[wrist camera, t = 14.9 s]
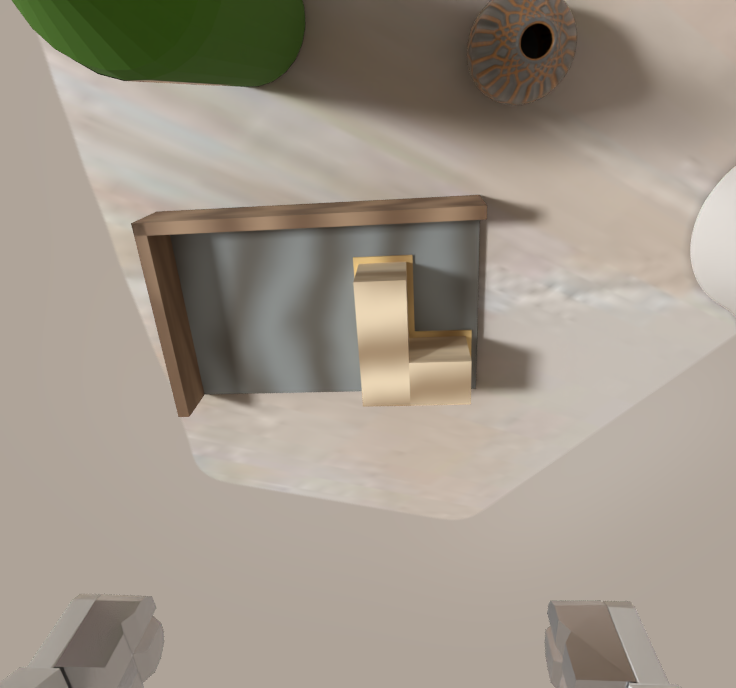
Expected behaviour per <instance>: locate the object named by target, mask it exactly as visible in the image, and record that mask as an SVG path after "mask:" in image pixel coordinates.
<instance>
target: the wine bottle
mask: <svg viewBox="0 0 736 688" xmlns="http://www.w3.org/2000/svg"><path fill="white" fill-rule="evenodd" d="M12 1H13V3H14V4H15V5H16V7H17V8H18V10H19V11H20V12H21V14H22V15H23V16H24V18H25V19H26V20H27V22H28V23H29V24H30V26H31V27H32V28H33V29H34V30H35V31H36V32H37V33H38V34H39V35H40V36H41V37H42V38H43V39H45V40H46V41H47V42H48V43H49V44H50V45H51V46H52V47H53V48H54V49H56V50H58V51H59V52H61V53H63V54H65V55H66V56H68V57H70V58H72V59H73V60H75V61H76V62H78V63H80V64H82V65H83V66H85V67H87V68H89V69H90V70H92V71H94V72H96V73H97V74H100V75H104V76H108V77H112V78H115V79H119V80H123V81H137V82H156V83H176V84H195V85H222V86H241V87H248V86H261V85H264V84H267V83H270V82H273V81H274V80H275V79H277V78H278V77H280V76H281V75H282V74H284V73H285V72H286V71H287V70H288V68H289V67H290V66H291V64H292V63H293V62H294V61H295V59H296V57H297V55H298V52H299V50H300V48H301V45H302V42H303V36H304V30H305V13H304V5H303V1H302V0H12Z"/></svg>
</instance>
